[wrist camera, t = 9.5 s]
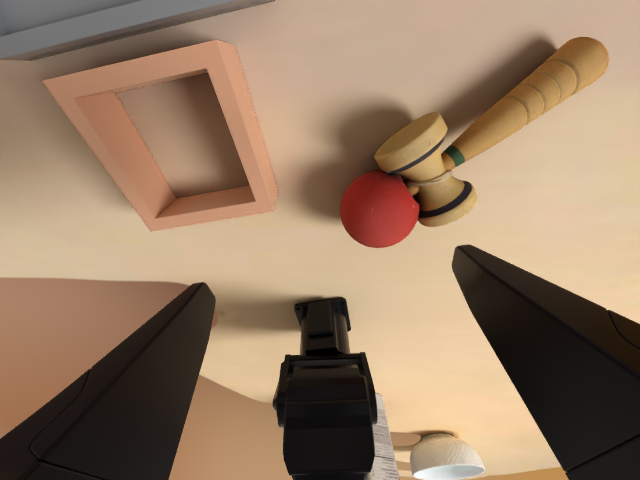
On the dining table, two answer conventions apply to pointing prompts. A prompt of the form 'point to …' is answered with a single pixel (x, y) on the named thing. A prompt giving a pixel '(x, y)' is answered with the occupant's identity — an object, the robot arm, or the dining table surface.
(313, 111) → the dining table surface
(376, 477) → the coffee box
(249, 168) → the pink rectangular frame
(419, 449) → the cereal bowl
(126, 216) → the dining table surface
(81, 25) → the grey tray
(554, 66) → the kendama
